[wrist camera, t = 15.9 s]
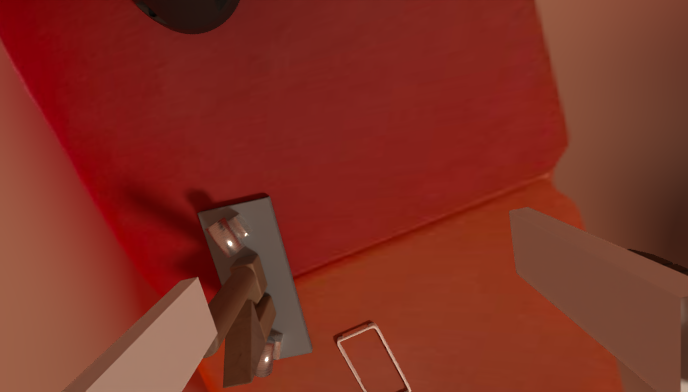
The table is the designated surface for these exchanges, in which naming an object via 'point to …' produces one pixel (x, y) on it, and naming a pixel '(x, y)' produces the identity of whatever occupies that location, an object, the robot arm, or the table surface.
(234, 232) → the grey block
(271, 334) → the grey knob
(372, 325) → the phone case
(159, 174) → the table surface
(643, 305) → the robot arm
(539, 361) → the table surface
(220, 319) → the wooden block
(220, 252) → the plate
